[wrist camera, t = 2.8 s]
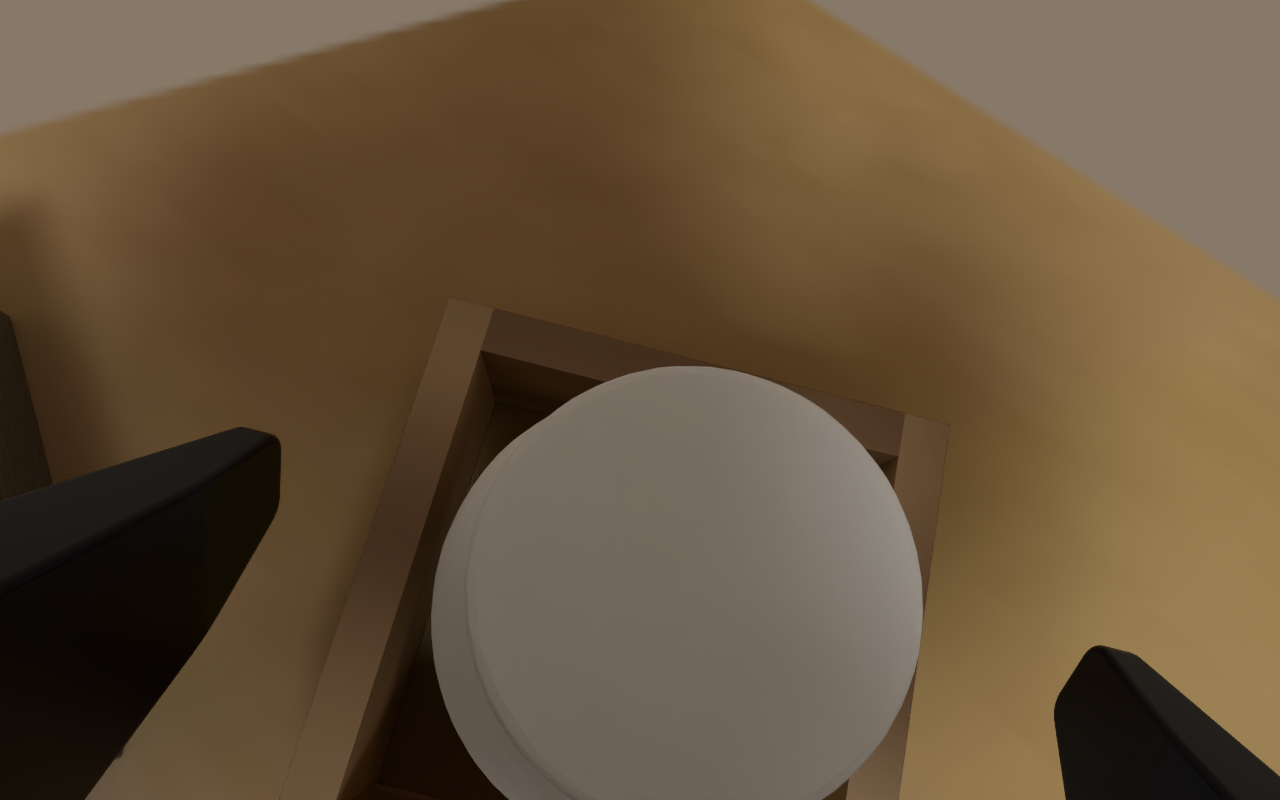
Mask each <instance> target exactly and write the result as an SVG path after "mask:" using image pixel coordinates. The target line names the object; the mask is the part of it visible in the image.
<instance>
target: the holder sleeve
mask: <svg viewBox="0 0 1280 800" xmlns="http://www.w3.org/2000/svg"><path fill="white" fill-rule="evenodd" d="M673 366H702V367H715V368H721V369H727V370H732V371H737V370H734V369H730V368H726V367H722V366H718V365H714V364H710V363H706V362H702V361H698V360H694V359H690V358H687V357H683V356H679V355H675V354H671V353H667V352H663V351H659V350H655V349H651V348H647V347H643V346H640V345H636V344H632V343H628V342H624V341H620V340H616V339H612V338H608V337H604V336H600V335H596V334H592V333H589V332H585V331H581V330H577V329H573V328H569V327H565V326H561V325H557V324H553V323H549V322H545V321H542V320H538V319H534V318H530V317H526V316H522V315H518V314H514V313H510V312H506V311H502V310H498V309H494V308H491V307H487V306H483V305H479V304H475V303H471V302H467V301H463V300H459V299H455V298H451V297H449V299H448V302H447V305H446V308H445V311H444V314H443V317H442V320H441V323H440V326H439V329H438V332H437V335H436V338H435V341H434V344H433V347H432V350H431V352H430V355H429V358H428V361H427V364H426V367H425V370H424V373H423V376H422V379H421V382H420V385H419V388H418V391H417V394H416V397H415V400H414V403H413V405H412V408H411V411H410V414H409V417H408V420H407V423H406V426H405V429H404V432H403V435H402V438H401V441H400V444H399V447H398V450H397V453H396V456H395V458H394V461H393V464H392V467H391V470H390V473H389V476H388V479H387V482H386V485H385V488H384V491H383V494H382V497H381V500H380V503H379V506H378V509H377V511H376V514H375V517H374V520H373V523H372V526H371V529H370V532H369V535H368V538H367V541H366V544H365V547H364V550H363V553H362V556H361V559H360V562H359V564H358V567H357V570H356V573H355V576H354V579H353V582H352V585H351V588H350V591H349V594H348V597H347V600H346V603H345V606H344V609H343V612H342V615H341V617H340V620H339V623H338V626H337V629H336V632H335V635H334V638H333V641H332V644H331V647H330V650H329V653H328V656H327V659H326V662H325V665H324V668H323V670H322V673H321V676H320V679H319V682H318V685H317V688H316V691H315V694H314V697H313V700H312V703H311V706H310V709H309V712H308V715H307V718H306V721H305V723H304V726H303V729H302V732H301V735H300V738H299V741H298V744H297V747H296V750H295V753H294V756H293V759H292V762H291V765H290V768H289V771H288V774H287V776H286V779H285V782H284V785H283V788H282V791H281V794H280V797H279V800H441V799H437V798H433V797H429V796H425V795H421V794H417V793H413V792H409V791H405V790H401V789H397V788H393V787H389V786H386V785H382V784H378V783H377V782H378V779H379V776H380V772H381V769H382V766H383V763H384V759H385V756H386V753H387V750H388V746H389V743H390V740H391V737H392V733H393V730H394V727H395V724H396V721H397V717H398V714H399V711H400V708H401V704H402V701H403V698H404V695H405V691H406V688H407V685H408V682H409V678H410V675H411V672H412V669H413V666H414V662H415V659H416V656H417V653H418V649H419V646H420V643H421V640H422V636H423V633H424V630H425V627H426V623H427V620H428V617H429V614H430V611H431V607H432V599H433V589H434V582H435V576H436V571H437V567H438V563H439V559H440V555H441V551H442V547H443V545H444V542H445V539H446V536H447V534H448V532H449V530H450V527H451V525H452V523H453V521H454V519H455V516H456V514H457V512H458V510H459V508H460V507H461V505H462V503H463V501H464V499H465V497H466V494H467V491H468V488H469V484H470V481H471V478H472V475H473V471H474V468H475V465H476V462H477V458H478V455H479V452H480V449H481V445H482V442H483V439H484V436H485V433H486V429H487V426H488V423H489V420H490V416H491V413H492V410H493V407H494V403H495V401H498V402H502V403H506V404H510V405H514V406H518V407H522V408H526V409H530V410H534V411H538V412H542V413H546V414H549V415H551V414H552V413H553V412H554V411H556V410H557V409H558V408H560V407H561V406H562V405H564V404H565V403H567V402H568V401H570V400H571V399H573V398H574V397H576V396H578V395H580V394H582V393H584V392H586V391H588V390H590V389H592V388H594V387H596V386H598V385H600V384H603V383H605V382H608V381H611V380H613V379H616V378H619V377H622V376H625V375H628V374H631V373H636V372H640V371H645V370H650V369H654V368H659V367H673ZM738 372H741V371H738ZM742 373H745V372H742ZM746 374H749V373H746ZM749 375H753V374H749ZM753 376H756V377H759V378H762V379H765V380H768V381H771V382H774V383H776V384H778V385H781V386H783V387H785V388H787V389H789V390H791V391H793V392H795V393H797V394H799V395H801V396H803V397H805V398H806V399H808V400H809V401H811V402H813V403H814V404H816V405H817V406H819V407H820V408H822V409H823V410H825V411H826V412H827V413H828V414H829V415H831V416H832V417H833V418H834V419H835V420H837V421H838V422H839V423H840V424H841V425H843V426H844V427H845V428H846V429H847V430H848V431H849V432H850V433H851V434H852V435H853V436H854V437H855V438H856V439H857V441H858V442H859V443H860V444H861V445H862V446H863V447H864V448H865V450H866V451H867V452H868V453H869V454H870V456H871V457H872V458H873V459H874V461H875V462H876V463H877V464H878V466H879V467H880V469H881V470H882V472H883V473H884V475H885V476H886V478H887V479H888V481H889V483H890V484H891V486H892V488H893V490H894V492H895V494H896V495H897V497H898V500H899V502H900V504H901V507H902V509H903V511H904V514H905V516H906V518H907V521H908V523H909V525H910V529H911V533H912V536H913V540H914V543H915V547H916V550H917V555H918V561H919V567H920V573H921V579H922V600H923V618H924V610H925V603H926V596H927V588H928V581H929V574H930V566H931V559H932V552H933V544H934V537H935V530H936V522H937V515H938V508H939V501H940V493H941V486H942V479H943V471H944V464H945V457H946V449H947V442H948V435H949V427H950V425H949V424H945V423H941V422H937V421H933V420H930V419H926V418H922V417H918V416H914V415H910V414H906V413H902V412H898V411H894V410H890V409H886V408H882V407H879V406H875V405H871V404H867V403H863V402H859V401H855V400H851V399H847V398H843V397H839V396H835V395H832V394H828V393H824V392H820V391H816V390H812V389H808V388H804V387H800V386H796V385H792V384H788V383H785V382H781V381H777V380H773V379H769V378H765V377H761V376H757V375H753ZM922 625H923V621H922ZM921 632H922V631H921ZM917 662H918V659H917ZM916 669H917V663H916V668H915V672H914V675H913V677H912V680H911V683H910V686H909V689H908V691H907V694H906V697H905V699H904V702H903V704H902V706H901V709H900V710H899V712H898V714H897V716H896V718H895V720H894V721H893V723H892V725H891V727H890V729H889V731H888V732H887V734H886V736H885V738H884V739H883V740H882V742H881V743H880V744H879V746H878V747H877V748H876V750H875V751H874V752H873V754H872V755H871V756H870V757H869V758H868V759H867V760H866V761H865V763H864V764H863V765H862V766H861V767H860V768H859V769H858V770H857V771H856V773H855V774H854V775H852V776H851V777H850V778H849V779H848V780H847V781H846V782H845V783H843V784H842V785H841V786H840V787H839V788H838V789H837V790H835V791H834V792H833V793H832V794H830V795H828V796H827V797H825V798H824V799H822V800H899V793H900V786H901V779H902V771H903V764H904V757H905V749H906V742H907V735H908V727H909V720H910V713H911V705H912V698H913V691H914V683H915V676H916Z"/></svg>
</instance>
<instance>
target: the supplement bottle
mask: <svg viewBox="0 0 1280 800" xmlns="http://www.w3.org/2000/svg"><path fill="white" fill-rule="evenodd" d="M922 621H923V600H922V579H921V573H920V567H919V561H918V555H917V550H916V547H915V543H914V540H913V536H912V533H911V529H910V525H909V523H908V521H907V518H906V516H905V514H904V511H903V509H902V507H901V504H900V502H899V500H898V497H897V495H896V494H895V492H894V490H893V488H892V486H891V484H890V483H889V481H888V479H887V478H886V476H885V475H884V473H883V472H882V470H881V469H880V467H879V466H878V464H877V463H876V462H875V461H874V459H873V458H872V457H871V456H870V454H869V453H868V452H867V451H866V450H865V448H864V447H863V446H862V445H861V444H860V443H859V442H858V441H857V439H856V438H855V437H854V436H853V435H852V434H851V433H850V432H849V431H848V430H847V429H846V428H845V427H844V426H843V425H841V424H840V423H839V422H838V421H837V420H835V419H834V418H833V417H832V416H831V415H829V414H828V413H827V412H826V411H825V410H823V409H822V408H820V407H819V406H817V405H816V404H814V403H813V402H811V401H809V400H808V399H806V398H805V397H803V396H801V395H799V394H797V393H795V392H793V391H791V390H789V389H787V388H785V387H783V386H781V385H778V384H776V383H774V382H771V381H768V380H765V379H762V378H759V377H756V376H753V375H749V374H746V373H742V372H738V371H732V370H727V369H721V368H715V367H702V366H673V367H659V368H654V369H650V370H645V371H640V372H636V373H631V374H628V375H625V376H622V377H619V378H616V379H613V380H611V381H608V382H605V383H603V384H600V385H598V386H596V387H594V388H592V389H590V390H588V391H586V392H584V393H582V394H580V395H578V396H576V397H574V398H573V399H571V400H570V401H568V402H567V403H565V404H564V405H562V406H561V407H560V408H558V409H557V410H556V411H554V412H553V413H552V414H551V415H549V416H548V417H546V418H545V419H543V420H542V421H540V422H538V423H537V424H535V425H534V426H532V427H531V428H530V429H528V430H527V431H525V432H524V433H522V434H521V435H520V436H518V437H517V438H516V439H515V440H513V441H512V442H511V443H510V444H509V445H508V446H506V447H505V448H504V449H503V450H502V451H501V452H500V453H499V454H498V455H497V456H496V457H495V459H494V460H493V461H492V462H491V463H490V464H489V465H488V467H487V468H486V469H485V470H484V471H483V473H482V474H481V475H480V477H479V478H478V479H477V481H476V482H475V484H474V485H473V486H472V488H471V489H470V491H469V493H468V494H467V496H466V498H465V499H464V501H463V503H462V505H461V507H460V508H459V510H458V512H457V514H456V516H455V519H454V521H453V523H452V525H451V527H450V530H449V532H448V534H447V536H446V539H445V542H444V545H443V547H442V551H441V555H440V559H439V563H438V567H437V571H436V576H435V582H434V589H433V599H432V610H431V634H432V646H433V655H434V663H435V669H436V674H437V678H438V681H439V685H440V689H441V693H442V696H443V699H444V702H445V705H446V708H447V711H448V713H449V715H450V718H451V720H452V723H453V725H454V727H455V729H456V731H457V733H458V735H459V736H460V738H461V740H462V742H463V744H464V745H465V747H466V749H467V751H468V752H469V754H470V755H471V757H472V758H473V760H474V761H475V763H476V764H477V766H478V767H479V768H480V769H481V771H482V772H483V773H484V774H485V776H486V777H487V778H488V779H489V781H490V782H491V783H492V784H493V785H494V786H495V787H496V788H497V789H498V790H499V791H500V792H501V793H502V794H503V795H504V796H505V797H507V798H508V799H509V800H822V799H824V798H825V797H827V796H828V795H830V794H832V793H833V792H834V791H835V790H837V789H838V788H839V787H840V786H841V785H842V784H843V783H845V782H846V781H847V780H848V779H849V778H850V777H851V776H852V775H854V774H855V773H856V771H857V770H858V769H859V768H860V767H861V766H862V765H863V764H864V763H865V761H866V760H867V759H868V758H869V757H870V756H871V755H872V754H873V752H874V751H875V750H876V748H877V747H878V746H879V744H880V743H881V742H882V740H883V739H884V738H885V736H886V734H887V732H888V731H889V729H890V727H891V725H892V723H893V721H894V720H895V718H896V716H897V714H898V712H899V710H900V709H901V706H902V704H903V702H904V699H905V697H906V694H907V691H908V689H909V686H910V683H911V680H912V677H913V675H914V672H915V668H916V663H917V659H918V655H919V650H920V641H921V631H922Z"/></svg>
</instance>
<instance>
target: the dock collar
mask: <svg viewBox="0 0 1280 800" xmlns="http://www.w3.org/2000/svg"><path fill="white" fill-rule="evenodd" d="M50 485H52V482H51V478H50V474H49V470H48V466H47V462H46V458H45V454H44V450H43V446H42V442H41V438H40V435H39V431H38V427H37V423H36V419H35V415H34V411H33V407H32V403H31V399H30V395H29V391H28V387H27V384H26V380H25V376H24V372H23V368H22V364H21V360H20V356H19V352H18V348H17V344H16V340H15V337H14V333H13V329H12V325H11V321H10V317H9V316H8V315H6V314H4V313H3V312H1V311H0V501H2V500H5V499H8V498H11V497H15V496H18V495H21V494H24V493H28V492H31V491H34V490H37V489H40V488H44V487H47V486H50ZM120 757H122V756H121V752H119V754H118V755H117V757H116V758H115V759H117V758H120ZM115 759H114V760H115Z"/></svg>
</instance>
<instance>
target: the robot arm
mask: <svg viewBox="0 0 1280 800" xmlns="http://www.w3.org/2000/svg"><path fill="white" fill-rule="evenodd" d="M280 473H281V445H280V441H279V439H278V438H277V437H276V436H275V435H273V434H269V433H266V432H262V431H258V430H254V429H250V428H246V427H237V428H234V429H230V430H227V431H224V432H221V433H217V434H214V435H211V436H208V437H205V438H201V439H198V440H195V441H192V442H189V443H185V444H182V445H179V446H176V447H172V448H169V449H166V450H163V451H160V452H156V453H153V454H150V455H147V456H144V457H140V458H137V459H134V460H131V461H127V462H124V463H121V464H118V465H115V466H111V467H108V468H105V469H102V470H98V471H95V472H92V473H89V474H86V475H82V476H79V477H76V478H73V479H69V480H66V481H63V482H60V483H57V484H53V485H50V486H47V487H44V488H40V489H37V490H34V491H31V492H28V493H24V494H21V495H18V496H15V497H11V498H8V499H5V500H2V501H0V800H85V798H86V797H87V796H88V794H89V793H90V792H91V790H92V789H93V788H94V786H95V785H96V784H97V782H98V781H99V779H100V778H101V777H102V775H103V774H104V773H105V771H106V770H107V769H108V767H109V766H110V765H111V763H112V762H113V761H114V759H115V758H116V757H117V755H118V754H119V752H120V751H121V750H122V748H123V747H124V746H125V744H126V743H127V742H128V740H129V739H130V738H131V736H132V735H133V734H134V732H135V731H136V730H137V728H138V727H139V725H140V724H141V723H142V721H143V720H144V719H145V717H146V716H147V715H148V713H149V712H150V711H151V709H152V708H153V707H154V705H155V704H156V703H157V701H158V700H159V698H160V697H161V696H162V694H163V693H164V692H165V690H166V689H167V688H168V686H169V685H170V684H171V682H172V681H173V680H174V678H175V677H176V676H177V674H178V673H179V671H180V670H181V669H182V667H183V666H184V665H185V663H186V662H187V661H188V659H189V658H190V657H191V655H192V654H193V653H194V651H195V650H196V648H197V647H198V645H199V644H200V643H201V641H202V640H203V638H204V637H205V635H206V634H207V632H208V631H209V629H210V628H211V626H212V624H213V623H214V621H215V619H216V618H217V616H218V614H219V613H220V611H221V609H222V608H223V606H224V604H225V602H226V601H227V599H228V597H229V595H230V594H231V592H232V590H233V588H234V587H235V585H236V583H237V582H238V580H239V578H240V576H241V575H242V573H243V571H244V569H245V568H246V566H247V564H248V562H249V561H250V559H251V557H252V555H253V554H254V552H255V550H256V549H257V547H258V545H259V543H260V542H261V540H262V538H263V536H264V535H265V533H266V531H267V529H268V528H269V526H270V524H271V523H272V521H273V519H274V517H275V514H276V512H277V509H278V505H279V500H280ZM1054 722H1055V729H1056V736H1057V743H1058V750H1059V756H1060V763H1061V770H1062V777H1063V784H1064V791H1065V798H1066V800H1280V776H1279V775H1277V774H1276V773H1275V772H1274V771H1273V770H1272V769H1270V768H1269V767H1268V766H1267V765H1266V764H1264V763H1263V762H1262V761H1261V760H1260V759H1259V758H1257V757H1256V756H1255V755H1254V754H1253V753H1252V752H1250V751H1249V750H1248V749H1247V748H1246V747H1244V746H1243V745H1242V744H1241V743H1240V742H1239V741H1237V740H1236V739H1235V738H1234V737H1233V736H1232V735H1230V734H1229V733H1228V732H1227V731H1226V730H1224V729H1223V728H1222V727H1221V726H1220V725H1219V724H1217V723H1216V722H1215V721H1214V720H1213V719H1211V718H1210V717H1209V716H1208V715H1207V714H1206V713H1204V712H1203V711H1202V710H1201V709H1200V708H1199V707H1197V706H1196V705H1195V704H1194V703H1193V702H1191V701H1190V700H1189V699H1188V698H1187V697H1186V696H1184V695H1183V694H1182V693H1181V692H1180V691H1179V690H1177V689H1176V688H1175V687H1174V686H1173V685H1171V684H1170V683H1169V682H1168V681H1167V680H1166V679H1164V678H1163V677H1162V676H1161V675H1160V674H1158V673H1157V672H1156V671H1155V670H1154V669H1153V668H1151V667H1150V666H1149V665H1148V664H1147V663H1146V662H1144V661H1143V660H1142V659H1141V658H1140V657H1138V656H1137V655H1135V654H1133V653H1130V652H1126V651H1122V650H1118V649H1114V648H1110V647H1106V646H1102V645H1098V646H1094V647H1092V648H1090V649H1089V650H1088V651H1087V652H1086V653H1085V655H1084V656H1083V658H1082V659H1081V661H1080V662H1079V664H1078V665H1077V667H1076V669H1075V670H1074V672H1073V673H1072V675H1071V676H1070V678H1069V679H1068V681H1067V683H1066V684H1065V686H1064V687H1063V689H1062V690H1061V692H1060V693H1059V695H1058V698H1057V700H1056V703H1055V708H1054Z"/></svg>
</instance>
